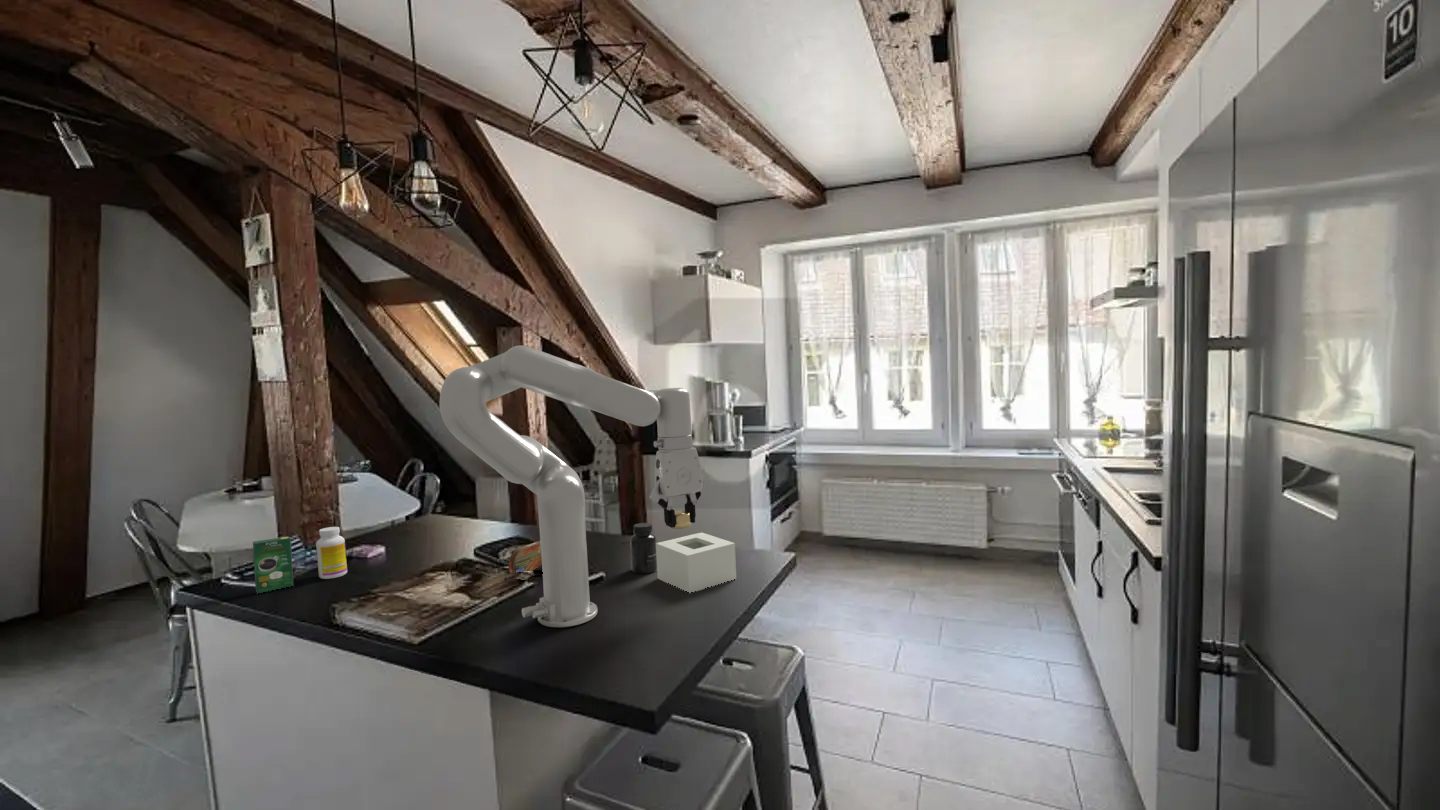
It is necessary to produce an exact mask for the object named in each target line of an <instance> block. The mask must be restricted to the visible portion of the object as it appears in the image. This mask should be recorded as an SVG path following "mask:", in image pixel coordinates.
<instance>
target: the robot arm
mask: <svg viewBox="0 0 1440 810" xmlns="http://www.w3.org/2000/svg"><path fill="white" fill-rule="evenodd" d="M520 388H522V389H525V390H528V391H531V392H534V393H537V394H540V395H543V396H546V397H549V398H552V399H555V400H557V401H560V402H563V403H566V404H569V405H572V406H575V407H577V408H581V409H586V410H590V411H594V412H597V413H600V414H603V415H605V416H608V417H612V418H614V419H617V420H620V421H623V422H626V423H628V424H632V425H634V426H638V427H647V426H650V425H652V424H654V423H655V422H656V425H657V440H654V441H653V447H654V448H657V449H658V450H657V451H656V455H655V462H654V487H653V488H652V490H651V492H650V494H649V497H648V498H649V499H650V500H652V501H654V502H655V503H656V504H658V506H660V507H661V508H662V509H663V517H664V523H665V526H666V527H669V528H671V527H672V528H671V529H673V527H675V509H673V503H674V498H676V497H679V496H681V497H682V496H684V497H685V501H686V503H684V511H689V512H690V517H691V524H694V523H696V505H697V504H698V500H699V499H700V497H701V496H702V494H703V493H704V492H705V491H706V489H707V487H708V486H707V485H706V484H705V483H704V481H703V474H702V468H701V464H700V463H701V462H700V458H699V454H698V450H697V448H696V447H693V446H694V445H693V434H692V433H693V430H692V419H691V418H692V417H691V416H692V415H691V413H692V412H691V400H690V393H689V390H688V389H686V388H684V387H670V388H669V387H668V388H662V389H655V390H653V389H652V390H651V389H642V388H639V387H636V386H633V385H631V384H628V383H625V382H622V381H620V380H617V379H614V378H611V377H609V376H607V375H603V374H601V373H600V372H597V371H596V370H594V369H591V368H590V367H586V366H583V365H581V364H578V363H575V362H572V361H569V360H566V359H564V358H562V357H558V356H555V355H552V354H551V353H547V352H545V351H541V350H539V349H536V348H533V347H530V346H528V345H514V346H512V347H511V348H508V350H507V351H504V352H502V353H500V354H498V355H495V356H493V357H490V358H488V359H486V360H484V361H481V362H480V361H479V362H478V363H475V364H472V365H469V366H464V367H460V368H456V369H455V370H453V371H451V372H450V373H449V374H448V375H447V377H446V378H445V380H444V381H443V383H442V386H441V389H440V394H439V411H440V415H441V418H442V421H443V423H444V425H445V426H446V428H447V430H448V431H449V432H450V433H451V434H452V435H453V437H455V438H456V440H457V441H459V442H460V443H461V444H462V445H463V446H464V447H466V448H467V449H469V450H470V451H471V452H472V453H474V454H475V455H476V456H477V457H479V459H481V460H482V461H483V462H485V463H486V464H487V465H488V466H490V467H491V468H492V469H494V470H495V471H496V472H497V473H498V474H499V475H500V476H502V477H503V479H505V480H506V481H508V482H510V483H512V484H513V483H514V484H518V485H523V486H524V487H526V488H527V489H528V490H529V491H531V492H532V493H533V494H534V495H536V499H537V512H538V525H539V541H540V544H541V556H542V572H543V574H542V585H543V589H542V590H543V596H542V597H539V602H537V603H535V605H528V606H525V607H522V608H521V615H522V617H523V618H527V617H531V616H532V618H533V619H537V622H538V623H540V624H541V625H542V626H544V627H549V628H569V627H573V626H579V625H581V624H584V623H587V622H589V621H592V620H593V619H594V618H596V616H597V614H598V606H597V604H595V603H594V602H592V601H590V598H591V597H590V585H589V584H590V581H589V580H590V579H589V565H588V564H589V563H588V549H587V545H588V544H587V532H586V531H587V530H586V529H587V528H586V496H585V490H584V486H583V483H582V480H581V479H580V476H579V475H578V473H577V471H575V470H574V469H573V468H572V467H570V466H569V464H567V463H566V462H565V461H563V460H562V459H561V458H559V457H558V456H557V455H555V454H554V453H553V452H552V451H551V450H549V449H548V448H547V447H546V446H544V445H543V444H542V443H541V442H539V441H538V440H536V439H535V438H533V437H531V436H529V435H524V434H523V435H522V434H521V435H520V434H519V433H517V431H515V430H513V429H512V428H511V427H510V426H509V425H508V424H506V422H504V421H503V420H502V419H500V418H499V417H498V416H496V415H495V414H493V412H491V411H490V410H489V408H488V407H487V404H486V403H487V402H490V401H492V400H494V399H497V398H499V397H501V396H505V395H506V394H509V393H511V392H514V391H516V390H519V389H520ZM661 496H662V497H661Z"/></svg>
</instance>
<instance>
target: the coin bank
mask: <svg viewBox="0 0 1440 810" xmlns="http://www.w3.org/2000/svg"><path fill="white" fill-rule="evenodd" d="M656 556H657V570H656V571H657V572H656V573H657V580H659V581H661V582H664V583H666V584H668V583H669V584H668V585H670V584H671V586H672V585H673V586H672V587H674V586H676V587H675V588H677V587H678V588H677V589H679V588H680V589H679V590H681V589H682V590H681V591H683V590H684V592H685V591H687V592H689V593H688V594H692V593H691V592H693V593H695V591H696V592H699V591H702V590H705V588H706V589H708V588H707V587H709V588H712V587H715V585H716V586H718V584H719V585H722V584H725V583H728V582H727V581H729V582H732V581H734V579H735V580H737V566H736V565H737V562H736V543H735V542H732V541H730V540H726V539H723V538H720V537H718V536H714V535H711V534H708V533H706V532H705V533H704V532H702V531H701V532H698V533H692V534H689V535H685V536H681V537H676V538H672V539H669V540H664V541H660V542H657V543H656ZM731 580H732V581H731ZM724 582H725V583H724ZM721 583H722V584H721ZM711 586H712V587H711ZM687 592H686V593H687Z"/></svg>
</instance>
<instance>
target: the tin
mask: <svg viewBox="0 0 1440 810" xmlns="http://www.w3.org/2000/svg"><path fill="white" fill-rule="evenodd" d="M541 565H542V556H541V544H540V540H538V541H535V542H533V543H530V544H527V545H524V546H522V547H518V548H516V549H515V550H514V551H513V552H512V553H511V554H510V556H509V558H508V572H509V574H510V573H517V572H523V571H533V570H535V569H536V568H538V567H539V566H541Z"/></svg>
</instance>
